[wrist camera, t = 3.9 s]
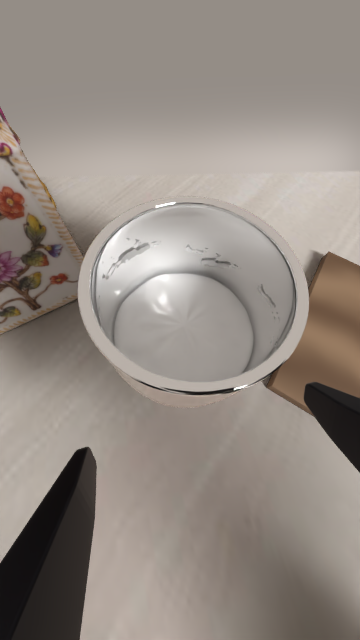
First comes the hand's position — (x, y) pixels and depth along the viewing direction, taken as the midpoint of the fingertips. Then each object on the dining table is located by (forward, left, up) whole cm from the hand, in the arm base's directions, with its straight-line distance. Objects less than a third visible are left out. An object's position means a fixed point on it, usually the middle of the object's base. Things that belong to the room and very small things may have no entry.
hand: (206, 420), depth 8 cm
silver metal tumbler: (+3, +3, -11) cm, 12 cm away
